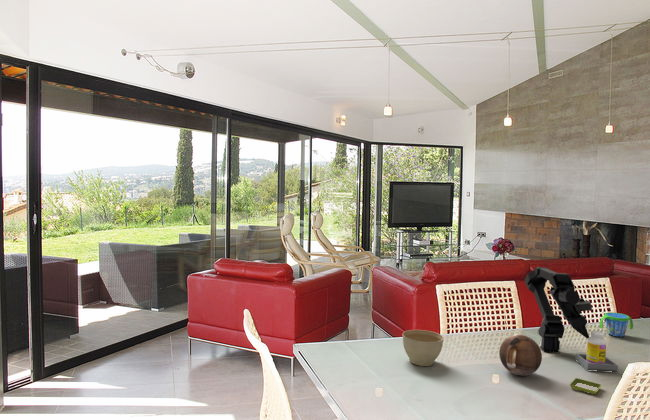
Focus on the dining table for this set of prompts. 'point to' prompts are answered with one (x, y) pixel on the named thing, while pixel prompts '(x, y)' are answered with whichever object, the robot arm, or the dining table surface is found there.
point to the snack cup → (616, 323)
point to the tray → (607, 366)
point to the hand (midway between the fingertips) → (585, 334)
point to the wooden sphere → (520, 355)
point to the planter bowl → (422, 346)
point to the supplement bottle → (596, 348)
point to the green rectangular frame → (586, 384)
